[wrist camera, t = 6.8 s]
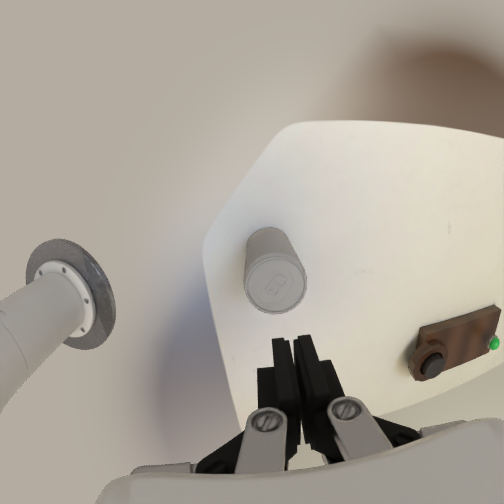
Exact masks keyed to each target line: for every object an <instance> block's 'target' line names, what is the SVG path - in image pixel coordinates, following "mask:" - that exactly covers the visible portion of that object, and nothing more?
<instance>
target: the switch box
mask: <svg viewBox="0 0 504 504" xmlns="http://www.w3.org/2000/svg"><path fill="white" fill-rule="evenodd" d="M500 313H501V309H500V308H498V307H497V306H495V305H492V306H490V307H487V308H484V309H481V310H478V311H475V312H472V313H469V314H466V315H463V316H459V317H456V318H453V319H449V320H446V321H442V322H439V323H435V324H432V325H428V326H424V327H420V331H419V336H418V341H417V346H416V351H415V352H414V354H413V355H412V357H411V358H410V362H409V366H408V368H409V370H410V374H411V375H412V377H413V378H414V379H415V381H417V380H418V381H425V380H428V378H427V377H426V376H425V375H424V373H423V372H422V371H421V365H422V363H423V362H424V360H425V359H426V358H427V357H428V356H430V355H431V354H433V353H438V354H439V355H440V356H441V357H442V358H443V359H444V360H445V367H444V369H443V370H442V372H443V371H446V370H448V369H451V368H453V367H456V366H458V365H461V364H463V363H466V362H468V361H471V360H473V359H475V358H477V357H480V356H482V355H484V354H486V353H488V352H489V350H490V349H488V348H487V346H486V345H487V341H488V340H489V338H490V337H491V336H492V335H494V334H495V331H496V328H497V324H498V321H499V317H500Z"/></svg>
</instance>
